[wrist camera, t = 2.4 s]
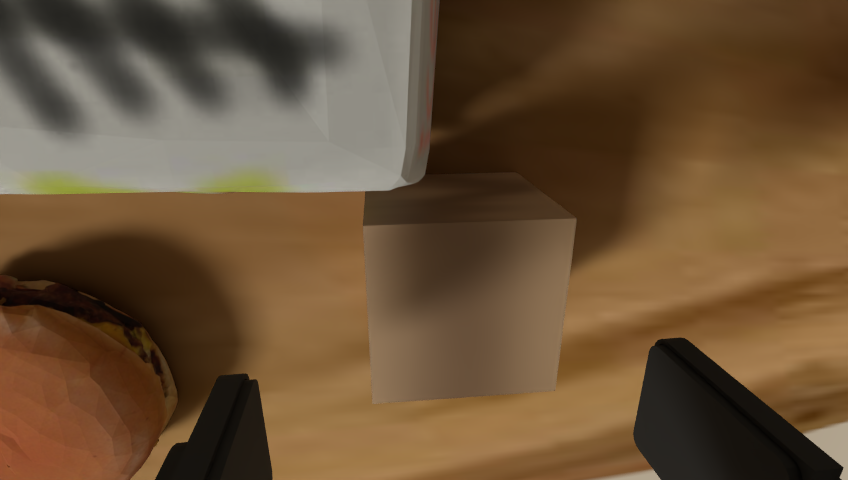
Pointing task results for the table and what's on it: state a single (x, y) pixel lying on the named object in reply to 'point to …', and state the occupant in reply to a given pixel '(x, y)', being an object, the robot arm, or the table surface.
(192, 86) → the toy car
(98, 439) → the burger
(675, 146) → the table surface
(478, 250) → the light brown cube
